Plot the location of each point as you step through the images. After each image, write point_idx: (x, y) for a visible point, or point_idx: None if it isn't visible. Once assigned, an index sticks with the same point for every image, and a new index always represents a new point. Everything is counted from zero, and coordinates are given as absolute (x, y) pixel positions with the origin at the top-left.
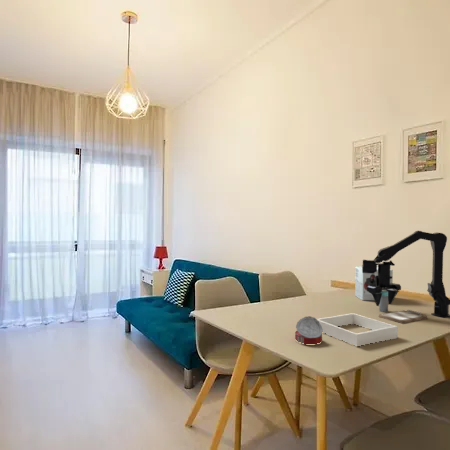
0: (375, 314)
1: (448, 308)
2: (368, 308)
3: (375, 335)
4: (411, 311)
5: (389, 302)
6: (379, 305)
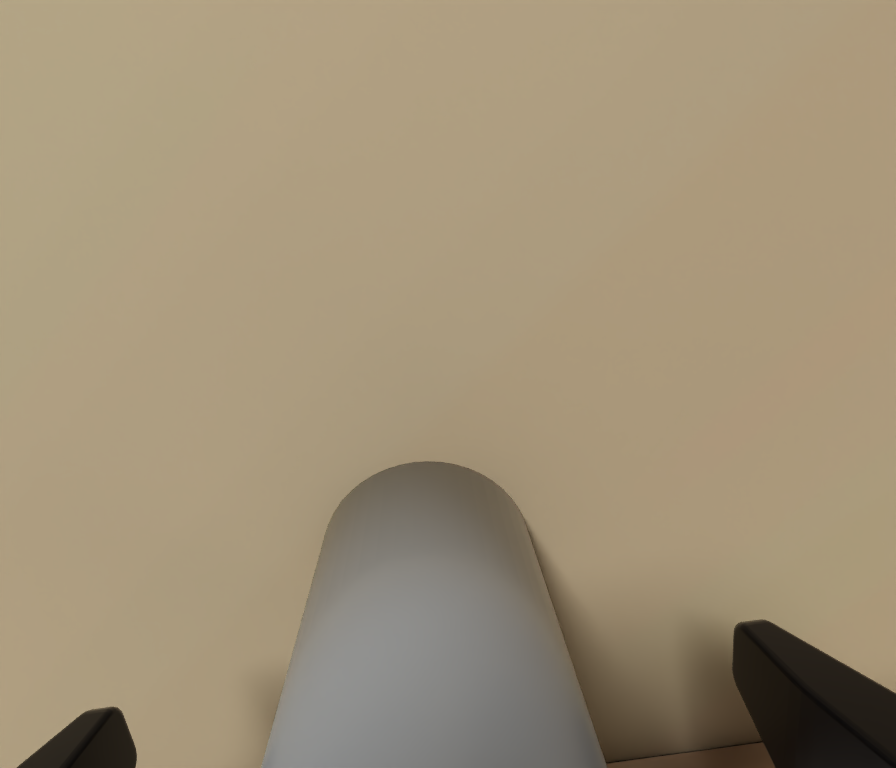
0: (18, 705)
1: None
2: (229, 156)
3: None
4: None
5: (761, 692)
6: (312, 608)
